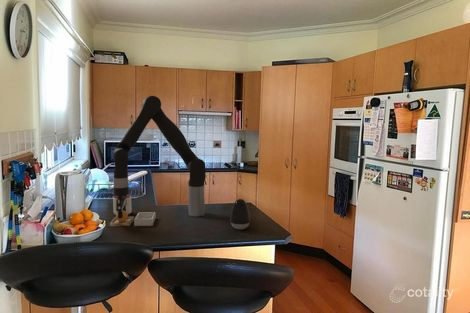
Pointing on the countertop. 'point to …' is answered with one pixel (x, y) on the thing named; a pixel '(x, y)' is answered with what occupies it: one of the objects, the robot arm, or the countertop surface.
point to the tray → (125, 223)
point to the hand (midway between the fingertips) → (122, 215)
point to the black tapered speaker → (240, 215)
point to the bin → (144, 219)
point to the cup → (128, 206)
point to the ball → (123, 217)
